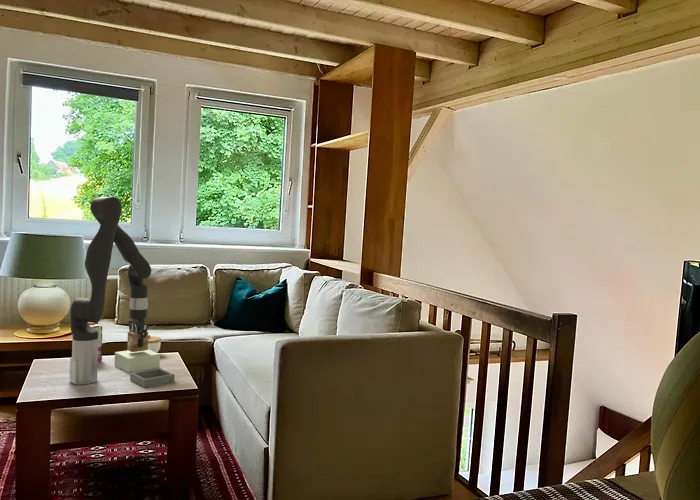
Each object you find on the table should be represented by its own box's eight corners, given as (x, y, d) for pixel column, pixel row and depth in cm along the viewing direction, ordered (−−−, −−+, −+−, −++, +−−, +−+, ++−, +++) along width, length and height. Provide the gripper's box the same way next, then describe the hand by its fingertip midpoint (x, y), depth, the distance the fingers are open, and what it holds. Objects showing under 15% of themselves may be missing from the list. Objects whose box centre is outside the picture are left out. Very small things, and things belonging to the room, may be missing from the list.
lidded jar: (138, 358, 265) (138, 338, 265) (135, 352, 275) (136, 333, 274) (161, 356, 270) (162, 337, 269) (159, 351, 280) (159, 332, 279)
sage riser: (128, 372, 241) (129, 358, 240) (114, 365, 250) (114, 352, 250) (159, 367, 251) (159, 354, 250) (144, 360, 260) (145, 348, 260)
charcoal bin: (143, 387, 222) (144, 379, 221) (130, 380, 230) (130, 373, 230) (174, 381, 231) (174, 374, 231) (160, 375, 239) (160, 368, 239)
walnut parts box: (147, 350, 251) (148, 332, 251) (132, 352, 246) (132, 334, 245) (142, 347, 254) (143, 330, 254) (126, 350, 249) (127, 332, 249)
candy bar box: (96, 359, 260) (97, 323, 259) (102, 361, 257) (103, 325, 256) (72, 363, 251) (72, 326, 250) (77, 365, 248) (78, 328, 247)
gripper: (154, 309, 247) (153, 347, 248) (139, 304, 257) (138, 341, 258) (137, 310, 241) (136, 350, 242) (123, 305, 251) (122, 343, 252)
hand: (137, 345), depth 250 cm, fingers closed on walnut parts box, 4 cm apart
